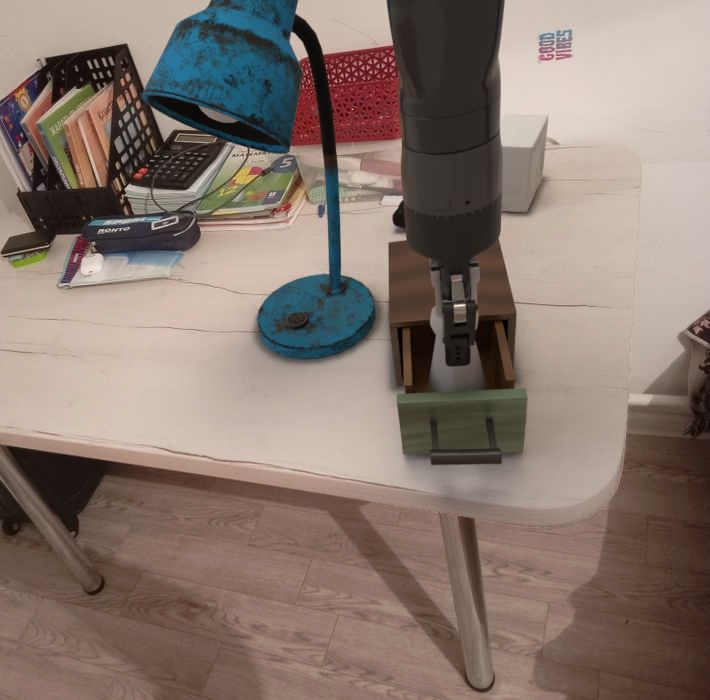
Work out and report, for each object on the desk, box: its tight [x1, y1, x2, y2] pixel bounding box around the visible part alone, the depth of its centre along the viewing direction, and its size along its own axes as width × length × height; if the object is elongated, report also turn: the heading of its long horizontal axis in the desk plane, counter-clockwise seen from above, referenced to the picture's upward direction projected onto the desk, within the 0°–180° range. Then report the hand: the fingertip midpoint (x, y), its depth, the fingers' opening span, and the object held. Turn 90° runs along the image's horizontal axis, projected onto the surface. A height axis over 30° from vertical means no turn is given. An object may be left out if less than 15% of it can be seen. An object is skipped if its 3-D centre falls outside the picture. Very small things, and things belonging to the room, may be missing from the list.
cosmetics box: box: [500, 114, 549, 213], centre depth 92 cm, size 10×6×10 cm, turn 148°
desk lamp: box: [141, 0, 377, 360], centre depth 69 cm, size 16×22×45 cm
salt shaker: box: [427, 300, 487, 393], centre depth 61 cm, size 6×6×13 cm
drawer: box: [396, 320, 529, 466], centre depth 63 cm, size 19×11×8 cm, turn 169°
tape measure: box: [391, 199, 406, 229], centre depth 94 cm, size 7×7×4 cm
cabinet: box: [387, 237, 518, 386], centre depth 73 cm, size 16×13×10 cm
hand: (455, 345), depth 60 cm, fingers closed on salt shaker, 4 cm apart
